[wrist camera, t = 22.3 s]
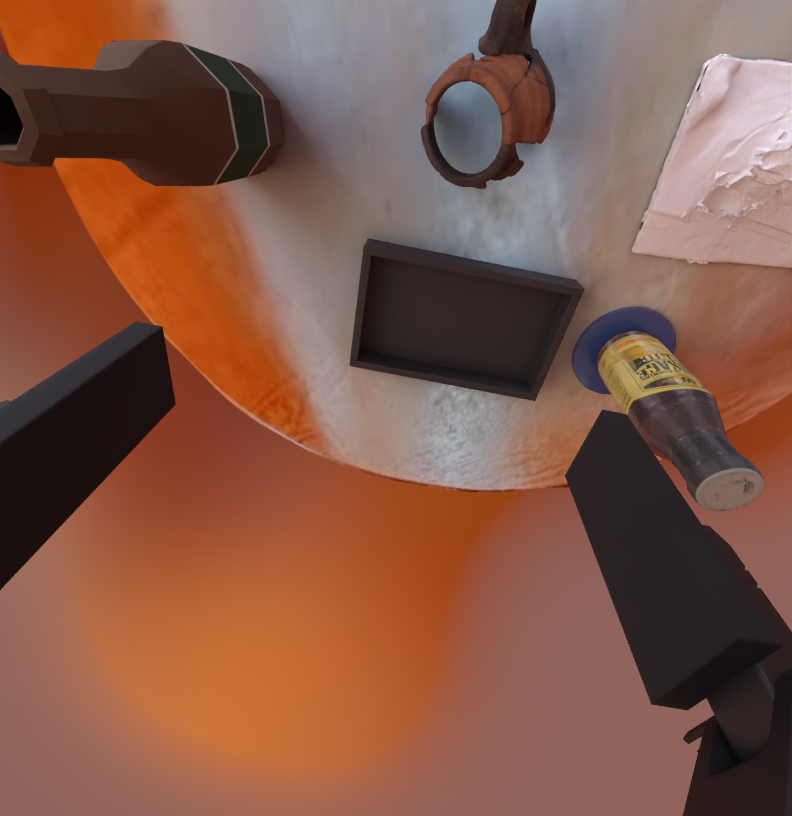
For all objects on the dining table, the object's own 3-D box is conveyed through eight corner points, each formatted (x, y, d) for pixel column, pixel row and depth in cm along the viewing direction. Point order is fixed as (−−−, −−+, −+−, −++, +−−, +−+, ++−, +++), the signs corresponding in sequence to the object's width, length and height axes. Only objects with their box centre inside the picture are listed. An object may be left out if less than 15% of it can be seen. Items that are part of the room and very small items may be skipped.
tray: (368, 238, 39) (363, 245, 37) (576, 280, 40) (585, 289, 37) (353, 354, 46) (349, 366, 44) (530, 388, 47) (535, 401, 44)
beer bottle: (192, 151, 36) (-103, 177, 16) (203, 43, 32) (-178, -102, 12) (277, 190, 37) (100, 258, 17) (298, 91, 33) (96, 31, 13)
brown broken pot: (547, 175, 35) (512, 211, 31) (450, 155, 39) (405, 184, 34) (600, -28, 26) (561, -20, 22) (466, -32, 29) (408, -26, 25)
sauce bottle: (668, 331, 41) (822, 464, 25) (639, 384, 45) (758, 530, 28) (604, 322, 41) (717, 448, 25) (580, 375, 45) (665, 516, 28)
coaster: (597, 298, 40) (599, 300, 40) (693, 317, 41) (696, 319, 40) (557, 382, 46) (558, 385, 46) (642, 399, 46) (644, 401, 46)
